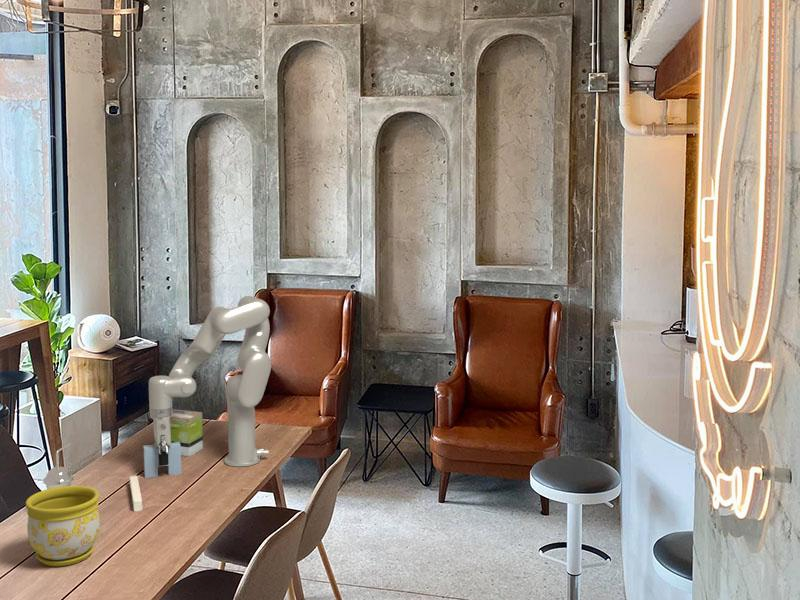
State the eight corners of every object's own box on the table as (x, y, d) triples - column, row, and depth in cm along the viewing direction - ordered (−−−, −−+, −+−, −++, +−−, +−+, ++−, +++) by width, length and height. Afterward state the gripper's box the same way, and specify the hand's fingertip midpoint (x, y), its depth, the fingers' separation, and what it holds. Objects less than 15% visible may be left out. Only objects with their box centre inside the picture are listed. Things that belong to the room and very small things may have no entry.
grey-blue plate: (180, 469, 288) (179, 442, 286) (181, 473, 284) (180, 445, 282) (144, 473, 284) (143, 445, 282) (145, 477, 279) (144, 449, 278)
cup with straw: (40, 510, 250) (37, 446, 248) (71, 503, 256) (68, 441, 254) (49, 518, 244) (46, 453, 241) (80, 511, 250) (77, 447, 247)
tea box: (154, 453, 306) (152, 414, 304) (169, 445, 316) (168, 407, 314) (189, 457, 302) (188, 417, 300) (204, 449, 311) (203, 411, 309)
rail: (137, 484, 273) (137, 475, 273) (142, 510, 251) (142, 501, 250) (129, 485, 272) (129, 476, 272) (134, 511, 250) (133, 502, 250)
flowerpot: (79, 536, 232) (76, 480, 230) (114, 554, 221) (112, 495, 218) (15, 557, 218) (12, 498, 216) (50, 578, 207) (47, 515, 205)
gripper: (174, 417, 274) (176, 467, 276) (169, 405, 290) (171, 452, 292) (151, 419, 271) (152, 469, 274) (147, 406, 287) (149, 454, 290)
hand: (162, 460), depth 283 cm, fingers open, 9 cm apart
